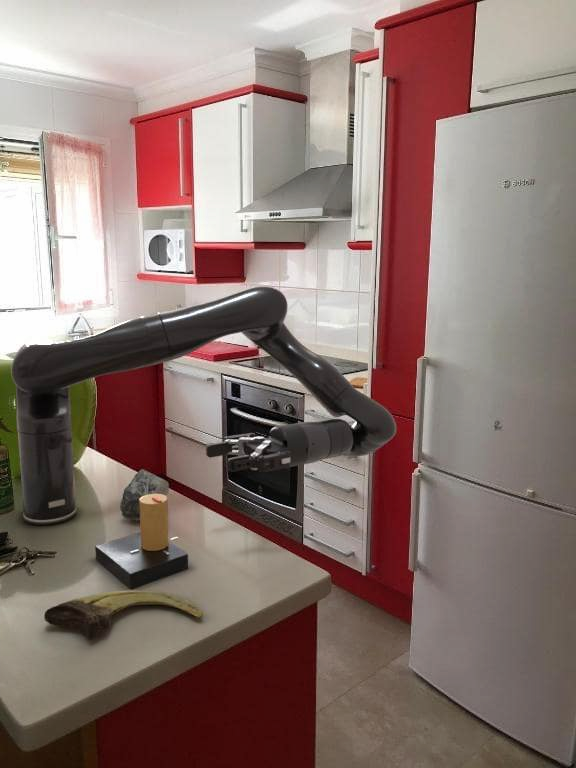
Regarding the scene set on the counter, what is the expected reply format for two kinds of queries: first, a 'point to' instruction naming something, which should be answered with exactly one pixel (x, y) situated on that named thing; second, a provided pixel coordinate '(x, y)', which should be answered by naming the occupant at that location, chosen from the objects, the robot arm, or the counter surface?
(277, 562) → the counter surface
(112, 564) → the panel
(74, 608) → the claw
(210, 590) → the counter surface
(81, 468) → the counter surface
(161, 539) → the tan cylinder
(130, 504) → the stone
